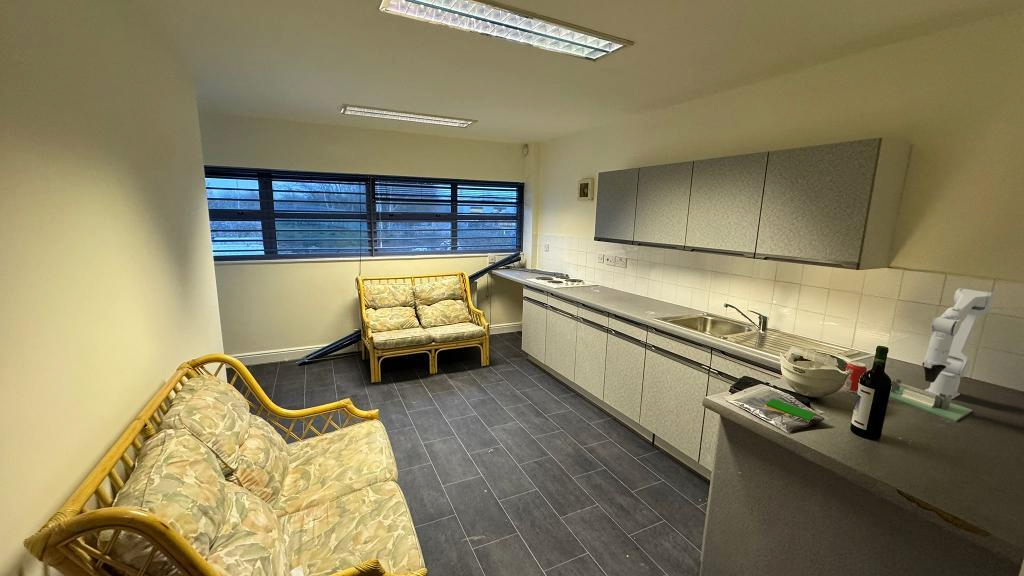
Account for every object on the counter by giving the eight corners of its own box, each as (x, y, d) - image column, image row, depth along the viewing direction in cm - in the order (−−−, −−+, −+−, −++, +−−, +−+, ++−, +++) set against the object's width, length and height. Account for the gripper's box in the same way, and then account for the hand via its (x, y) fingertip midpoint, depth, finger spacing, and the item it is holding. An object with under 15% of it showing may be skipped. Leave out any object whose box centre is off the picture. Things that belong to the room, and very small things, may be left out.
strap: (896, 383, 164) (897, 381, 164) (945, 399, 152) (945, 397, 152) (893, 384, 163) (894, 382, 163) (942, 400, 151) (942, 398, 151)
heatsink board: (890, 385, 171) (893, 372, 170) (971, 411, 151) (975, 398, 149) (872, 392, 164) (876, 380, 163) (955, 421, 143) (959, 407, 142)
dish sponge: (808, 426, 139) (809, 419, 138) (764, 409, 150) (765, 403, 149) (814, 419, 143) (815, 413, 143) (771, 403, 154) (772, 398, 153)
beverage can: (865, 394, 162) (871, 367, 160) (849, 393, 163) (856, 366, 160) (852, 387, 169) (858, 360, 166) (837, 386, 169) (843, 360, 166)
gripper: (946, 355, 145) (936, 389, 148) (960, 349, 151) (951, 382, 154) (920, 348, 151) (911, 381, 154) (935, 343, 157) (926, 374, 160)
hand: (929, 381), depth 154 cm, fingers closed
